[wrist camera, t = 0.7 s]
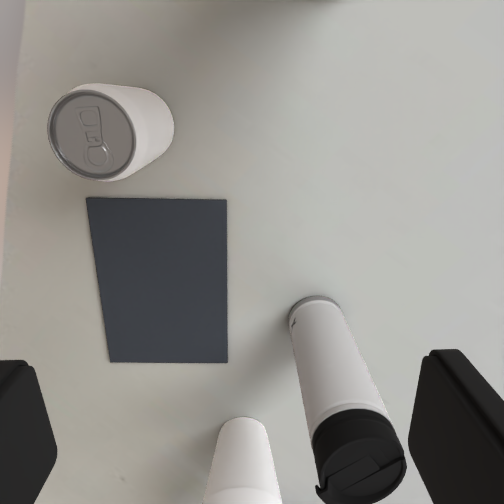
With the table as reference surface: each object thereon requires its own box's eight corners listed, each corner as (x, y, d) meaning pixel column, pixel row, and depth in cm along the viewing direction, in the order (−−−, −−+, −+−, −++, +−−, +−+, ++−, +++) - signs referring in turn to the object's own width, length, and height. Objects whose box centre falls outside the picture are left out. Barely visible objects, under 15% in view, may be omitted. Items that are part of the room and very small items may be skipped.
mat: (87, 197, 38) (85, 198, 37) (226, 199, 38) (226, 200, 38) (111, 360, 45) (110, 362, 45) (227, 361, 45) (227, 363, 45)
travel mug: (275, 315, 43) (296, 477, 25) (324, 284, 42) (385, 432, 23) (304, 351, 45) (344, 527, 27) (352, 323, 44) (429, 488, 25)
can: (113, 162, 36) (55, 190, 25) (98, 90, 34) (26, 86, 23) (180, 157, 36) (150, 183, 25) (169, 84, 34) (132, 77, 23)
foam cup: (292, 434, 50) (307, 540, 38) (244, 470, 52) (243, 580, 40) (241, 395, 48) (239, 496, 35) (193, 435, 50) (176, 541, 38)
